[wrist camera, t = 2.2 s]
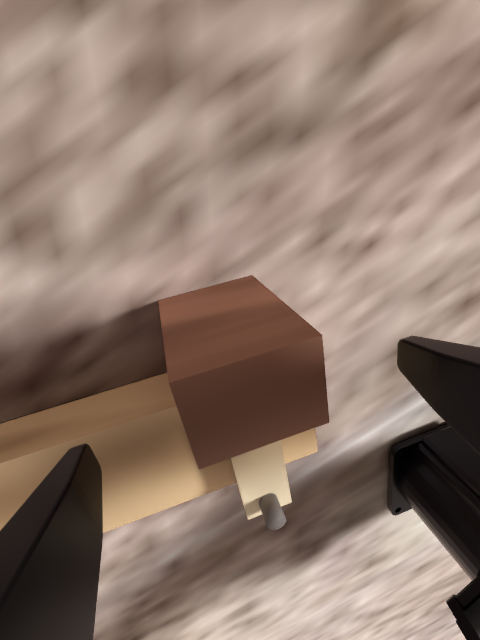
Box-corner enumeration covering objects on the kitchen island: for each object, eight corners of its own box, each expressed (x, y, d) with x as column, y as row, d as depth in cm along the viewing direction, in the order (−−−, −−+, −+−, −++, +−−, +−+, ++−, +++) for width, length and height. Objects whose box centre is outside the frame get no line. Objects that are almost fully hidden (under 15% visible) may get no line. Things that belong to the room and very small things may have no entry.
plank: (295, 417, 17) (317, 451, 15) (-130, 567, 14) (-181, 640, 12) (284, 336, 15) (308, 362, 13) (-222, 491, 12) (-306, 563, 10)
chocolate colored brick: (279, 432, 17) (339, 541, 12) (208, 457, 17) (238, 585, 12) (252, 275, 14) (322, 334, 8) (158, 300, 13) (168, 382, 8)
